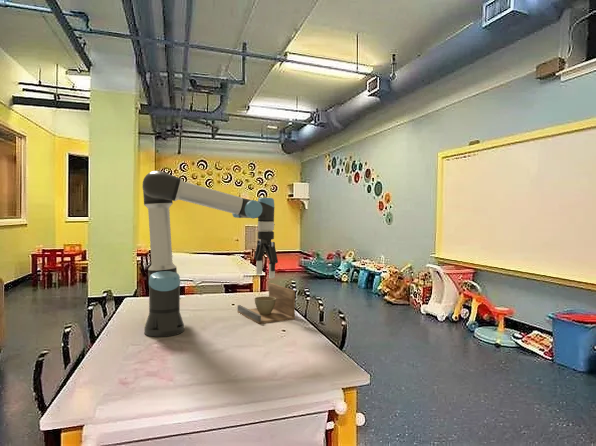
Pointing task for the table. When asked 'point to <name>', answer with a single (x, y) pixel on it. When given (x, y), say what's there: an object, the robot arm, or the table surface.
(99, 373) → the table surface
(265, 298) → the flower pot
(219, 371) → the table surface
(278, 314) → the brown piece
